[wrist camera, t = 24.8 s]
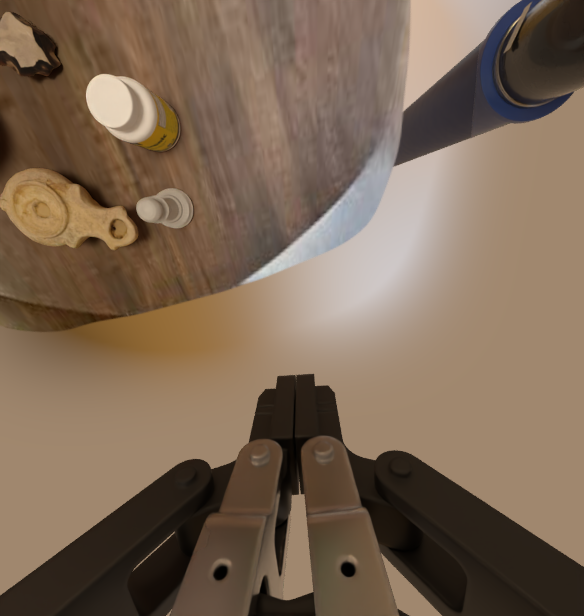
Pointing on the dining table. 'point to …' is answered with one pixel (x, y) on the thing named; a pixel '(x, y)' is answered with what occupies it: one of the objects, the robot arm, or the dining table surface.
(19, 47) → the decorative stone
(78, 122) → the dining table surface
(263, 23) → the dining table surface
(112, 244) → the oil lamp
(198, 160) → the dining table surface
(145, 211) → the chess piece
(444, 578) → the robot arm
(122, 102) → the supplement bottle
